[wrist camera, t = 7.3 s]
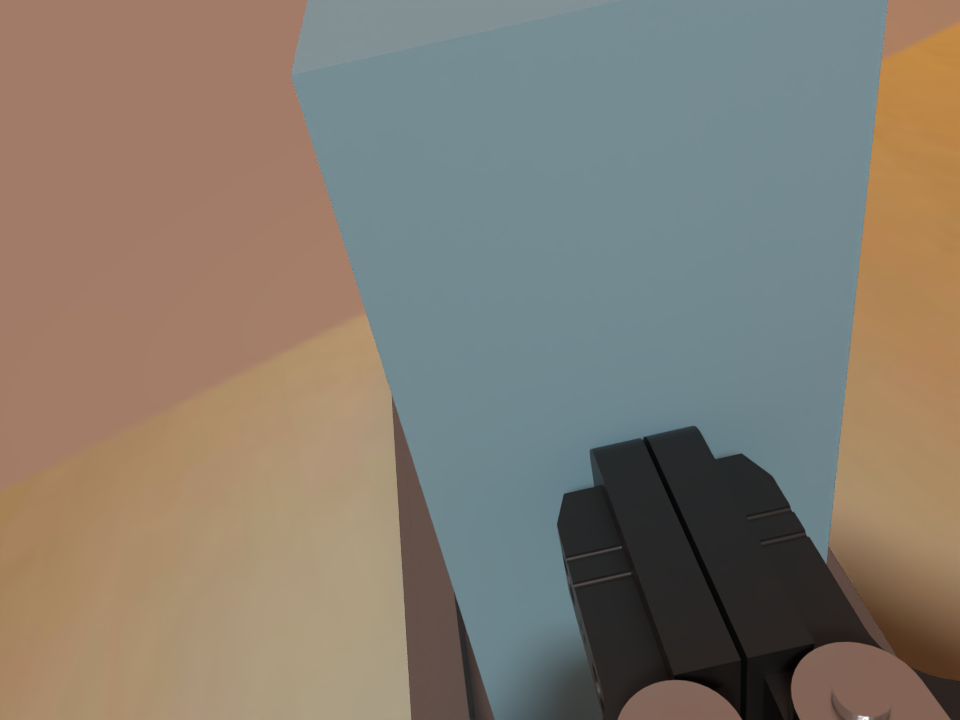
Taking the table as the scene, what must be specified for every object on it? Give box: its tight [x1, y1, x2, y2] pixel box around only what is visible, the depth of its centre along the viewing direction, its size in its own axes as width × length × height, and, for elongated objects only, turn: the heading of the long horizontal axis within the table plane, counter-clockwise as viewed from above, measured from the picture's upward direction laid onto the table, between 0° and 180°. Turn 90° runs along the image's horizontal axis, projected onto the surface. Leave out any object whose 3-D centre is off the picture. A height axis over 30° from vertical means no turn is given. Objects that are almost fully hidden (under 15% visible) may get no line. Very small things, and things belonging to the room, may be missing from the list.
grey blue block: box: [291, 0, 888, 720], centre depth 17 cm, size 12×6×13 cm, turn 7°
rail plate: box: [392, 396, 898, 720], centre depth 19 cm, size 22×10×6 cm, turn 7°
